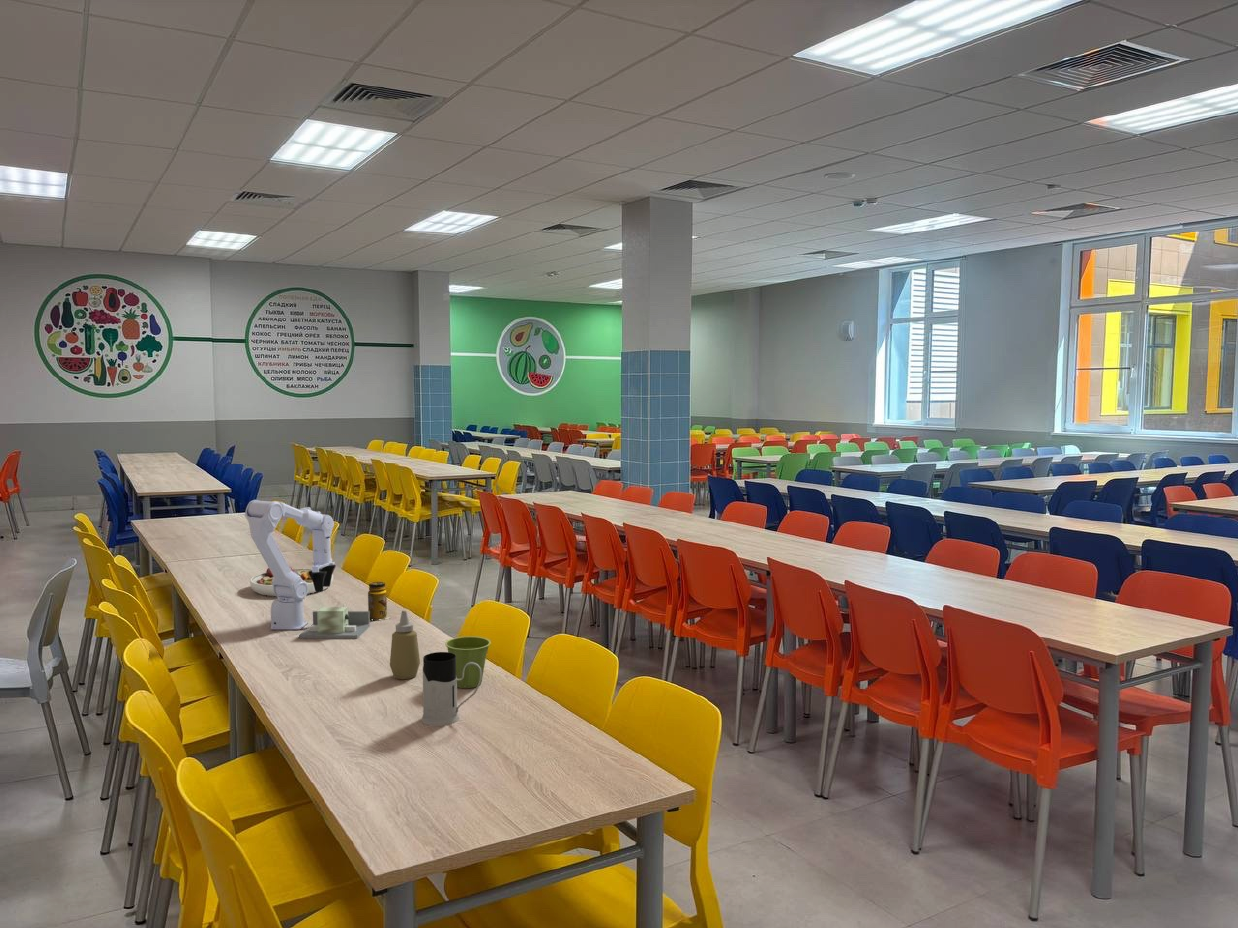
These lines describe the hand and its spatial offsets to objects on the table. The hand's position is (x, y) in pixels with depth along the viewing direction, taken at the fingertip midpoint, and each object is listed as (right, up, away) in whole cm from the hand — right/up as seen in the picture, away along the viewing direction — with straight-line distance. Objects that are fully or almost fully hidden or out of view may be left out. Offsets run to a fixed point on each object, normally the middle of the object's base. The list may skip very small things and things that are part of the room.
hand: (322, 589), depth 292 cm
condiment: (+18, -10, -1) cm, 21 cm away
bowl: (-26, -6, +40) cm, 48 cm away
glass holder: (+61, -18, -89) cm, 109 cm away
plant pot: (+61, -16, -65) cm, 90 cm away
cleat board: (+10, -11, -18) cm, 23 cm away
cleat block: (+10, -10, -20) cm, 25 cm away
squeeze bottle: (+43, -15, -59) cm, 75 cm away
